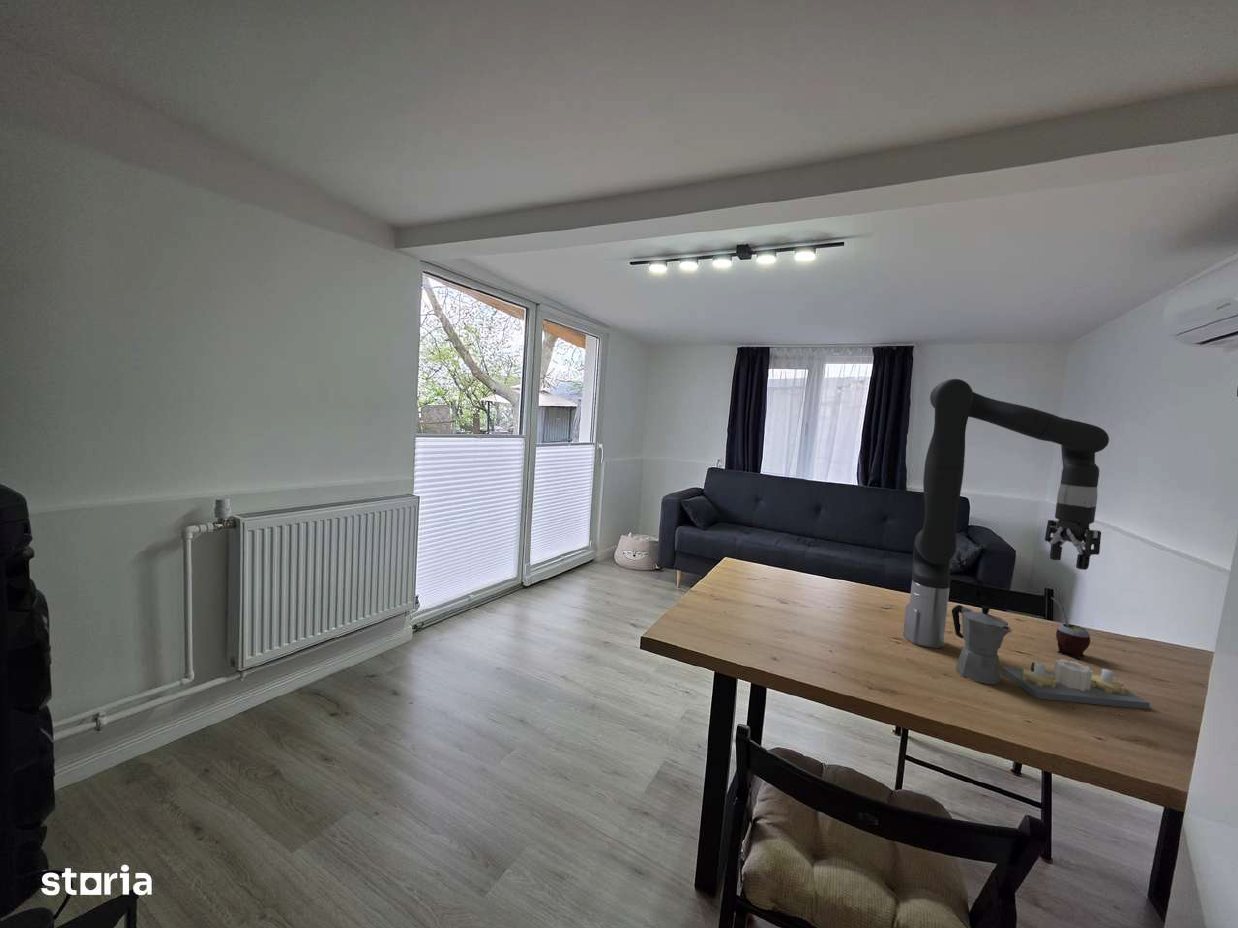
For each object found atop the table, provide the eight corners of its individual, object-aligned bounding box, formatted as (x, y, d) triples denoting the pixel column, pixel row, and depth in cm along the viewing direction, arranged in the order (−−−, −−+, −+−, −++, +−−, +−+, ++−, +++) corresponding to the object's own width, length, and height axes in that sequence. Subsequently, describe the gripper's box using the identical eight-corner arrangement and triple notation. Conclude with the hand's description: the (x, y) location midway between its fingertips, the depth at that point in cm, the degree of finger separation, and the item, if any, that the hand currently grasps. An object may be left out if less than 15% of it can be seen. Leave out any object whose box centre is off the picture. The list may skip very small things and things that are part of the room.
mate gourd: (1094, 662, 135) (1101, 609, 134) (1061, 657, 137) (1068, 605, 136) (1075, 650, 143) (1081, 599, 141) (1043, 646, 144) (1050, 596, 143)
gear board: (1036, 698, 115) (1039, 675, 114) (1001, 672, 126) (1004, 651, 126) (1148, 708, 112) (1152, 685, 112) (1102, 681, 124) (1105, 660, 124)
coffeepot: (1018, 688, 119) (1027, 616, 117) (987, 691, 117) (996, 617, 115) (961, 657, 134) (968, 593, 132) (932, 659, 132) (939, 594, 130)
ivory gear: (1067, 689, 116) (1070, 671, 116) (1046, 675, 123) (1048, 657, 123) (1097, 692, 116) (1100, 673, 115) (1074, 677, 122) (1077, 660, 122)
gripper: (1039, 497, 134) (1032, 555, 136) (1083, 506, 120) (1075, 571, 122) (1069, 499, 134) (1061, 558, 135) (1117, 508, 120) (1107, 573, 121)
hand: (1068, 564), depth 128 cm, fingers open, 8 cm apart
